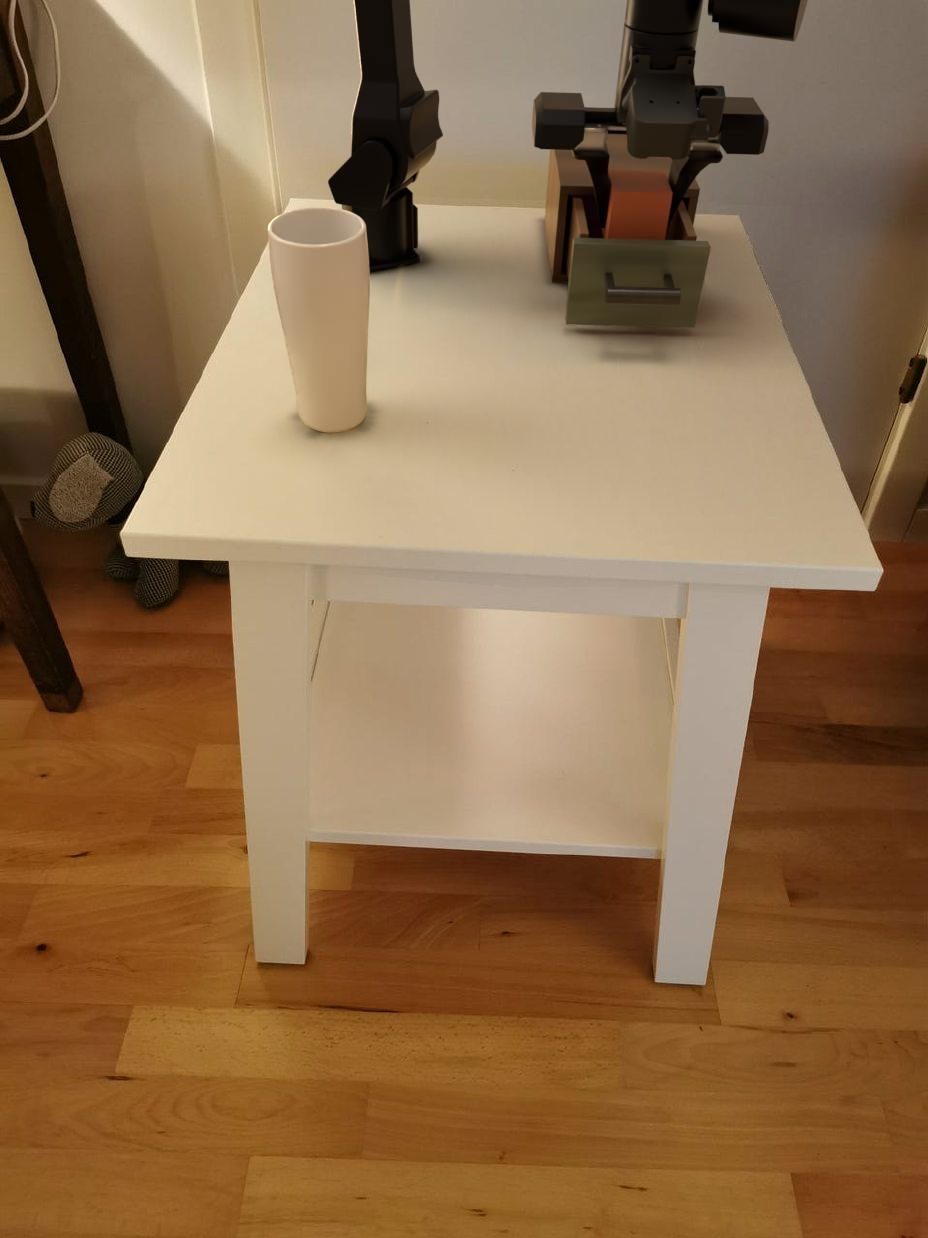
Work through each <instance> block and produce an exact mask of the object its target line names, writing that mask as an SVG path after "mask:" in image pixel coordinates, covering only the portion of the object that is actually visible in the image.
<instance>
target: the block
mask: <svg viewBox="0 0 928 1238" xmlns="http://www.w3.org/2000/svg"><path fill="white" fill-rule="evenodd" d="M672 194H673V193H672V190H671V187H670V185H669V182H668V179H667V177H666V174H665V172H664V171H634V170H608V213H607V220H606V227H605V228H601V229H602V233H603V238H607V239H648V240H665V236H666V230H667V224H668V218H669V212H670V206H671V200H672Z"/></svg>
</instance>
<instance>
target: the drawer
mask: <svg viewBox="0 0 928 1238" xmlns="http://www.w3.org/2000/svg"><path fill="white" fill-rule="evenodd" d="M697 238H698V235H697V233H696V230H695V227H694V225H692V222H691V220H690V217H689V215H688V212H687V210H686V207H685V204H684V202H683V199H682V201H681V203H680V205H679V207H678V208H677V210H676V212H675V214H674V216H673V218H672V220H671V221H670V223H669V225H668V227H667V230H666V236H665V240H648V239H607V238H603V233H602V229H601V225H600V220H599V215H598V209H597V204H596V198H595V195H570V202H569V213H568V223H567V234H566V244H565V255H564V256H565V263H566V270H567V276H568V283H567V284H568V287H567V293H566V304H565V313H564V314H565V315H564V322H565V325H567V326H568V325H569V326H571V325H572V326H613V327H619V326H620V327H651V328H652V327H656V328H696V323H697V317H698V312H699V308H700V303H701V302H700V301H701V297H702V293H703V289H704V282H705V278H706V274H707V273H706V272H707V268H708V263H709V257H710V253H711V249H712V246H711V244H710V242H709V240H697Z"/></svg>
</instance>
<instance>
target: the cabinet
mask: <svg viewBox="0 0 928 1238" xmlns="http://www.w3.org/2000/svg"><path fill="white" fill-rule="evenodd" d="M605 141H606V144H607V148H608V151H609V155H610V158H609V166H608V170H634V171H664V172H665V174H666V177H667V179H668V177H669V172H670V168H671V163H672V159H671V158H670V157H648V158H646V159H639V158H635V157H633V156H631V155H630V154H629V152H628V150H627V134H607V140H605ZM548 160H549V161H548V174H547V186H546V200H545V209H544V210H545V211H544V213H545V214H544V229H545V235H546V236H545V237H546V245H547V252H548V261H549V270H550V278H551V283H562V284H563V283H564V284H565V283H567V284H568V276H567V270H566V263H565V256H564V255H565V244H566V234H567V223H568V213H569V202H570V195H595V193H594V187H593V182H592V179H591V176H590V172H589V169H588V167H587V164H586V161H585V160H577V159H575V158H574V157H573V155H572V150H552V149H549V159H548ZM700 192H701V188H700V186H699V184H698V181H697V179H696V178H695V179H694V181H693V182H692V184H691V185H690V187H689V188H688V190H687V192H686V193H685V195H684V197H683V202H684V204H685V207H686V210H687V212H688V215H689V217H690V220H691V222H692V225H693V226H694V224H695V219H696V213H697V207H698V202H699V197H700Z"/></svg>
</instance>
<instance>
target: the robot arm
mask: <svg viewBox="0 0 928 1238" xmlns="http://www.w3.org/2000/svg"><path fill="white" fill-rule="evenodd" d="M808 1H809V0H708V1H707V15H708V16H710V17H711V23H716V24H718V32H719V33H720V34H728V35H738V36H745V37H752V38H753V37H754V38H763V39H771V40H779V41H785V42H786V41H787V42H793V43H794V42H796V40H797V38H798V35H799V33H800V29H801V26H802V22H803V19H804V16H805V12H806V10H807V6H808V5H807V4H808ZM703 6H704V0H626V6H625V13H624V14H625V15H624V22H623V31H622V38H621V39H622V40H621V46H620V47H621V48H620V55H619V56H620V58H619V64H618V71H617V72H618V73H617V82H616V89H615V98H614V107H593V106H592V107H590V106H589V107H588V106H585V103H584V99H583V95H582V92H557V91H556V92H551V91H540V93H538V95H537V96H536V97H535V98H534V99H533V102H532V115H531V116H532V117H531V130H532V131H531V132H532V140H533V147H534V148H537V149H539V150H550V149H552V150H572V155H573V157H574V158H575V159H577V160H585V161H586V164H587V167H588V169H589V172H590V176H591V179H592V182H593V187H594V193H595V198H596V204H597V209H598V215H599V220H600V225H601V228H605V227H606V220H607V213H608V166H609V158H610V155H609V151H608V148H607V144H606V141H605V140H607V134H627V150H628V152H629V154H630V155H631V156H633V157H635V158H639V159H646V158H648V157H670V158H671V159H672V163H671V168H670V172H669V177H668V182H669V185H670V187H671V190H672V193H673V194H672V200H671V206H670V212H669V218H668V224H667V227H668V225H669V223H670V221H671V220H672V218H673V216H674V214H675V212H676V210H677V208H678V207H679V205H680V203H681V201H682V199H683V197H684V195H685V193H686V192H687V190H688V188H689V187H690V185H691V184H692V182H693V181H694V179H696V178H697V176H698V175H699V174H700V173H701V172H702V171H703V170H704V169H705V168H706V167H708V166H709V165H711V164H720V163H721V162H722V160H723V159H724V155H723V153H722V151H721V149H720V147H721V148H722V149H723V151H724V152H725V153H726V155H748V156H749V155H753V156H755V155H756V156H757V155H758V156H759V155H761V154H764V153H765V150H766V145H767V142H768V141H767V140H768V136H769V131H770V126H769V123H770V121H769V119H768V118H767V116H766V114H765V113H764V112H763V110H762V109H761V107H760V105H759V104H758V103H757V101H756V100H755V98H754V97H752V96H751V97H749V96H747V97H746V96H745V97H744V96H726V91H725V86H724V85H714V84H713V85H709V84H700V85H698V84H697V85H696V80H695V79H696V78H695V72H694V69H695V65H696V59H695V58H696V55H697V49H696V47H697V41H698V36H699V29H700V24H701V17H702V13H703V12H702V11H703ZM353 9H354V17H355V18H354V19H355V27H356V29H355V30H356V37H357V48H358V57H359V68H360V82H359V86H358V89H357V94H356V98H355V102H354V106H353V110H352V114H351V130H350V157H348V159H347V160H345V162H344V163H343V164H342V165H341V166H340V167H339V168H338V169H337V170H336V171H335V172H334V174H332V175H331V176H330V177H329V178H328V180H327V183H328V187H329V190H330V192H331V195H332V198H333V201H334V203H335V204H336V205H341V209H342V210H346V211H349V212H352V213H354V214H356V215H358V216H359V217H361V218H362V219H363V220H364V222H365V224H366V231H367V241H368V252H369V268H370V272H371V271H376V270H383V269H387V268H394V267H400V266H405V265H410V264H411V265H412V264H416V263H420V262H421V255H420V254H419V253H418V252H417V249H418V247H419V208H418V207H417V206H416V204H414V193H413V191H411V190H410V188H408V187H409V186H410V185H411V184H413V183H415V182H416V181H417V180H418V177H419V174H420V171H421V169H423V168H424V167H425V166H427V164H428V163H429V162H430V160H431V159H433V157H434V155H435V153H436V150H437V143H438V141H439V140H440V139H442V138H443V136H444V134H443V131H442V128H441V125H440V119H439V110H440V109H439V108H440V92H439V90H438V89H429V90H425V88H424V87H423V84H422V83H421V81H420V78H419V76H418V75H417V72H416V67H415V59H414V45H413V43H414V42H413V29H412V27H413V26H412V14H411V0H353Z"/></svg>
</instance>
